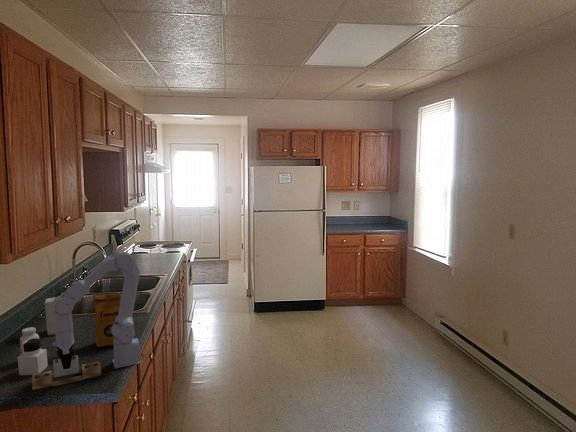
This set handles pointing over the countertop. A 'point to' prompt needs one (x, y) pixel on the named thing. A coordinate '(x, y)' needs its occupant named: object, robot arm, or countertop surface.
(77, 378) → the wooden frame
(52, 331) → the skincare box
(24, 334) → the supplement bottle
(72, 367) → the white box with knobs
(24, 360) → the medicine bottle
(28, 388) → the countertop surface
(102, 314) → the coffee package
